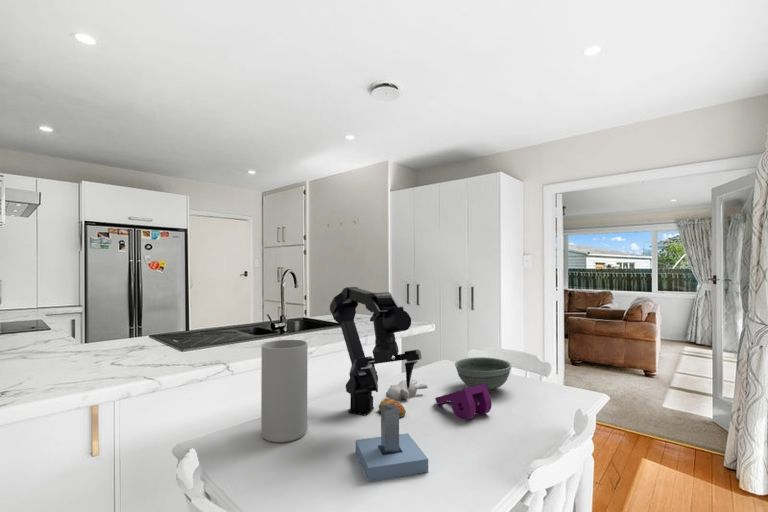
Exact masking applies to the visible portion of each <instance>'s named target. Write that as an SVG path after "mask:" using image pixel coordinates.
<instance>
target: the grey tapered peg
mask: <svg viewBox="0 0 768 512" xmlns="http://www.w3.org/2000/svg"><path fill="white" fill-rule="evenodd" d="M380 426H381V427H380V437H381V453H382V455H388V454H395V453H399V434H400V417H399V408H398V407H397V406H396V405H395V404H388V405H381V412H380Z"/></svg>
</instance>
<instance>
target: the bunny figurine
mask: <svg viewBox="0 0 768 512" xmlns="http://www.w3.org/2000/svg"><path fill="white" fill-rule="evenodd" d="M417 383H418V380H416V379H413V380H410V386H409V388H407V383H406V379H404V380H401V381H400V382H399V383H397V384H392V385H390V386H389V388H388V390H387V391H386V392H385V396H386V398H389V399H391V400H396V401H398V400H400V401H402V399H411V398H413V397H414V396H415V395H416V393H417V391H418V390H425V389H428V384H427V383H420V384H417ZM416 384H417V385H416ZM410 397H411V398H410ZM398 402H399V401H398Z"/></svg>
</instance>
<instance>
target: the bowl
mask: <svg viewBox="0 0 768 512" xmlns="http://www.w3.org/2000/svg"><path fill="white" fill-rule="evenodd" d="M454 366H455V368H456V371H457V375H458V377H459V379H460V380H461V381H462V382H463V384H464V385H466V386H468V387H469V388H470V387H474V386H478V385H482V384H486V386H487V389H488V392H489V394H490V393H493V392H496V391H497V389H498V388H501V387H502V386H503V385H505V383H506V382H507V380H508V378H509V376H510V371H511V368H512V363H511V362H510V361H508V360H506V359H500V358H496V357H495V358H494V357H482V356H481V357H479V356H478V357H466V358H463V359H459V360H456V362H455V363H454Z"/></svg>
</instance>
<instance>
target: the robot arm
mask: <svg viewBox="0 0 768 512" xmlns="http://www.w3.org/2000/svg"><path fill="white" fill-rule="evenodd" d="M359 304H362V305H364V306H365V309H366V310H368V311H369V312H370V313H372V315H371V317H370V319H369V322H372V323H373V330H374V337H375V339H374V340H375V341H374V345H375V346H374V348H373V350H372V355H373V356H372V355H371V356H366V355H365V352H364V351H365V350H364V349H363V345H362V342H361V339H360V335H359V331H358V328H357V326H356V323H355V317H356V314H357V311H356V310H357V307H358V306H359ZM329 311H330V313H331V315H332V318H333V319H334V321H335V322H336V323H338V324H339V325H340V329H341V332H342V335H343V339H344V342H345V345H346V349H347V353H348V357H349V359H350V363H351V366H350V370H349V379H348V381H346V384H345V390H346V393H348V394H349V395H350V408H349V409H348V410H347V413H349V414H355V415H362V416H367V415H368V414H369V413H370V412H372V411H373V410H374V409H375V407H374V396H373V393H372V392H375V393H378V392H379V384H378V381H379V375H378V371H377V369H376V367H375V366H376V364H377V365H378V364H384V363H391V362H392V363H393V362H398V361H399V362H400V361H406V362H405V363H404V366H405V378H406V379H405V380H406V383H407V388H409V386H410V382H411V381H412V380H411V379H412V374H413V370H414V367H415V365H416V364H417V363H418V362H419V360H422V359H423V358H422V353H421V351H420V350H419V349H413V350H406V351H404V353H399V346H398V343H397V340H396V335H395V334H396V333H400V332H405V331H408V330H409V329H410V327H411V325H412V317H411V316H410V314H409V313H408V312H407V311H406V310H404V306H403V305H401V306H399V305H398V303H397V301H396V300H395V298H394V297H393V295H392V294H391V292H388V291H387V292H385V291H384V292H372V291H369V290H365V289H362V288H359V287H357V286H348V287H344V288H343V289H342V290H341V292H340V293H338V294H337V295H335V296H333V299H332V300H331V302H330V305H329Z"/></svg>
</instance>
